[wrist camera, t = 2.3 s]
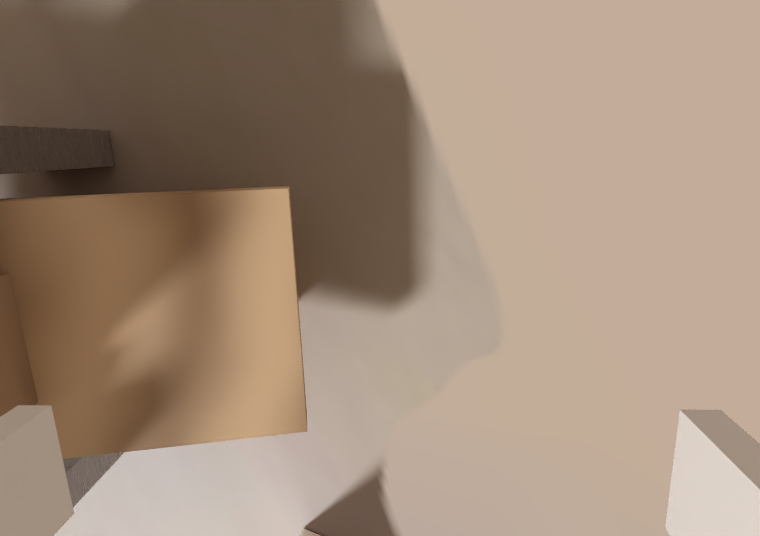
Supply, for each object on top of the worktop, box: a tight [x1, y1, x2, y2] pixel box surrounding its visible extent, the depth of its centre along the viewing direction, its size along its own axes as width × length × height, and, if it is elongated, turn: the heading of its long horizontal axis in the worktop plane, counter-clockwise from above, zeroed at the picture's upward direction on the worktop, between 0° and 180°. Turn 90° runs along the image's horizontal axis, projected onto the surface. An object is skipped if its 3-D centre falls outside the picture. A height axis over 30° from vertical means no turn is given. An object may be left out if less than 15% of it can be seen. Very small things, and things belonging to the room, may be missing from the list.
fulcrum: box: [0, 126, 124, 507], centre depth 20 cm, size 4×15×11 cm, turn 3°
